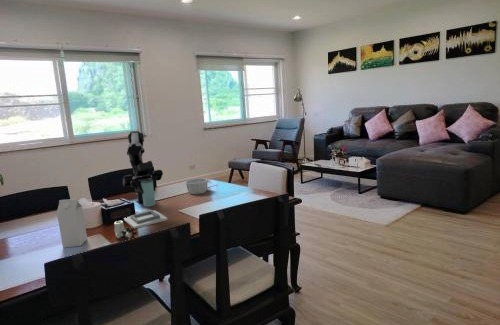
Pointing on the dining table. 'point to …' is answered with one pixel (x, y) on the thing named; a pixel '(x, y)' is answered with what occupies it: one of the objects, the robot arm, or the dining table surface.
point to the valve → (123, 231)
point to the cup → (148, 192)
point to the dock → (145, 219)
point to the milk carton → (71, 223)
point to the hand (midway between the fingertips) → (148, 191)
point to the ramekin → (197, 186)
